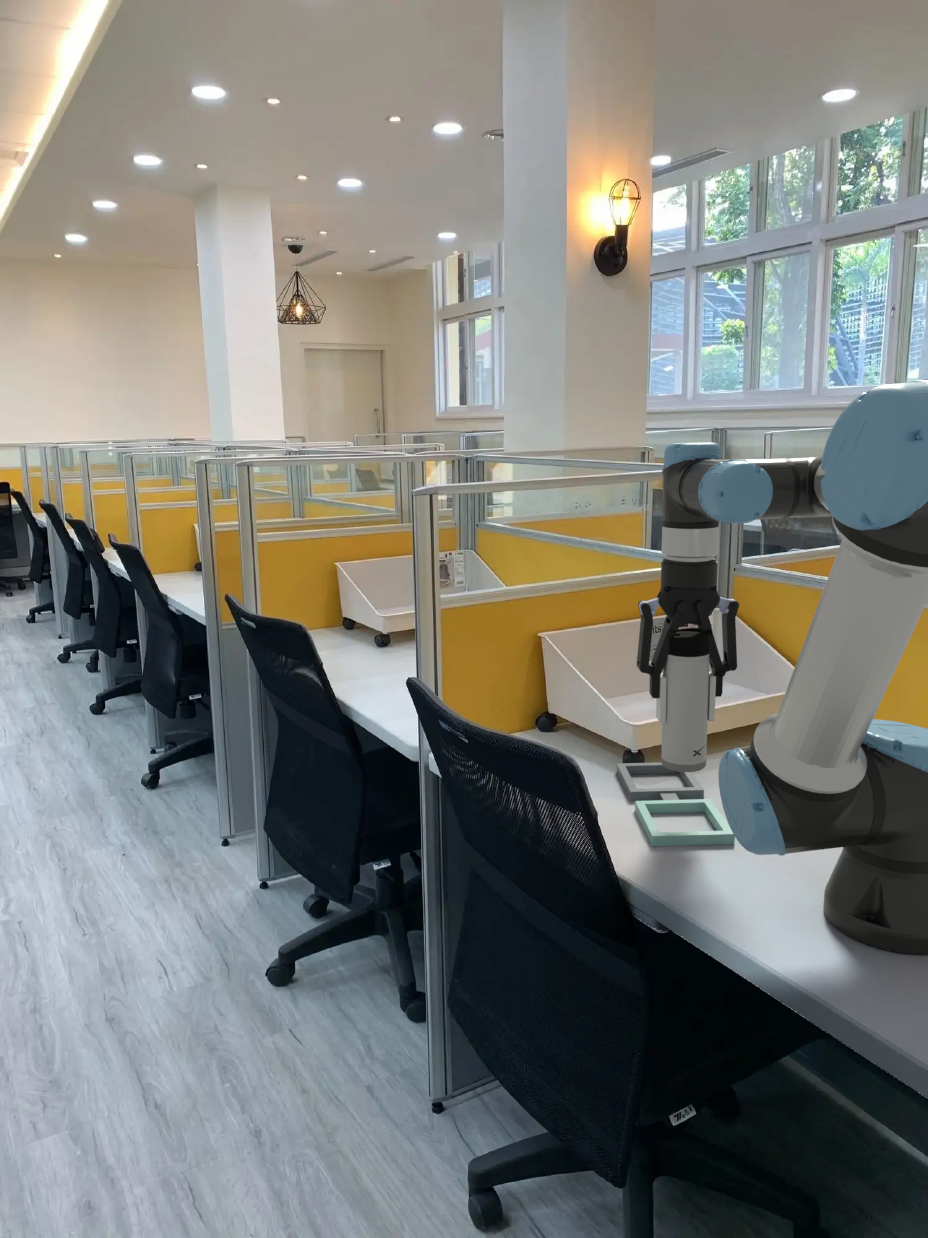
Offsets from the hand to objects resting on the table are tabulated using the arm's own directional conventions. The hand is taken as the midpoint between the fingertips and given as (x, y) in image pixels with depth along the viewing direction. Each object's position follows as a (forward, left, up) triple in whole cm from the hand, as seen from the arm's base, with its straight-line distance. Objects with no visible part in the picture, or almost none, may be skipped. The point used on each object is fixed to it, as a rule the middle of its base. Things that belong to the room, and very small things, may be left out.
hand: (684, 718), depth 131 cm
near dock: (0, 0, -16) cm, 16 cm away
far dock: (+14, 0, -16) cm, 22 cm away
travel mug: (0, 0, -7) cm, 7 cm away
